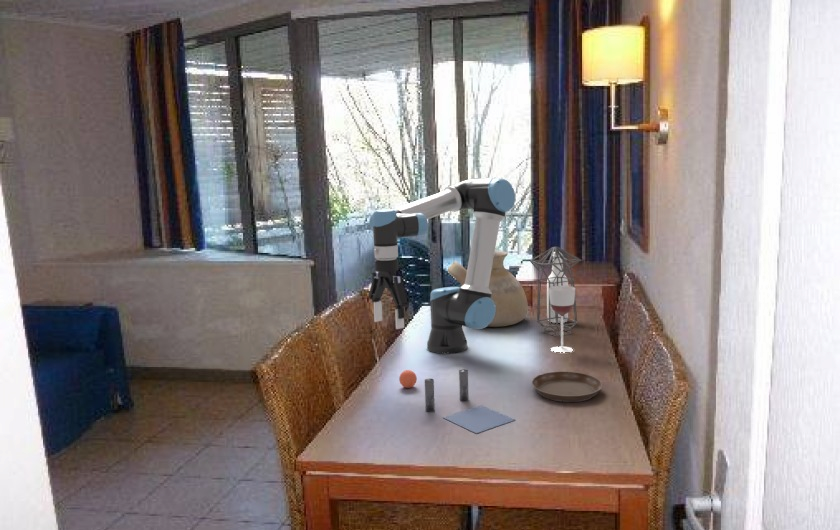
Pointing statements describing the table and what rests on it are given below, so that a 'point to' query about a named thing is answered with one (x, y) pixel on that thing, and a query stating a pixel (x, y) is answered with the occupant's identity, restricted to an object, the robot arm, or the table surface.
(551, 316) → the alcohol
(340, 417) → the table surface
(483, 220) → the robot arm
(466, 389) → the post
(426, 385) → the post
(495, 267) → the jug
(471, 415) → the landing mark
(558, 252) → the geometric lantern
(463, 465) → the table surface
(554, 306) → the wineglass
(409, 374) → the ball
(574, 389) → the plant saucer
